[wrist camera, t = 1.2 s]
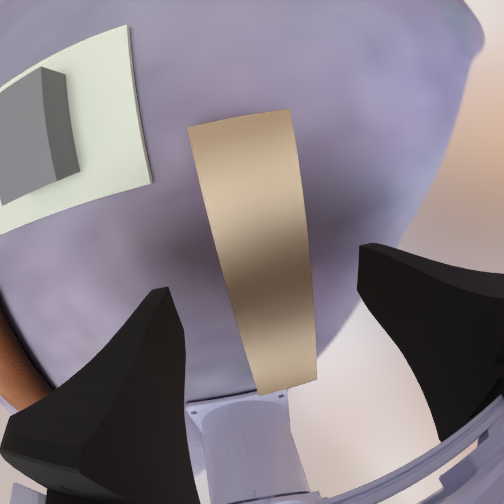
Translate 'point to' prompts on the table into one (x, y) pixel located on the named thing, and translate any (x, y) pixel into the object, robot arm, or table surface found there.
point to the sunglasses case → (18, 372)
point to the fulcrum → (71, 131)
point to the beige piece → (261, 241)
